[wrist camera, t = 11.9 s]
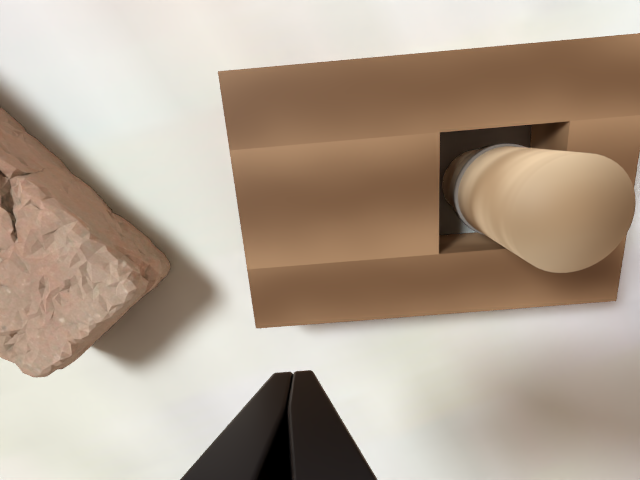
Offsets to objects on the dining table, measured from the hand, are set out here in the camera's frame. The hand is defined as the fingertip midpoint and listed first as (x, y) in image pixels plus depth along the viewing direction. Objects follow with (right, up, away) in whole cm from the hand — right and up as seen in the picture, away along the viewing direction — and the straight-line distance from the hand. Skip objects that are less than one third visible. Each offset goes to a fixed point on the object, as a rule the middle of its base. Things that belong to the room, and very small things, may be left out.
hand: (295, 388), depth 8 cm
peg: (+9, +6, +12) cm, 16 cm away
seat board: (+6, +6, +12) cm, 14 cm away
